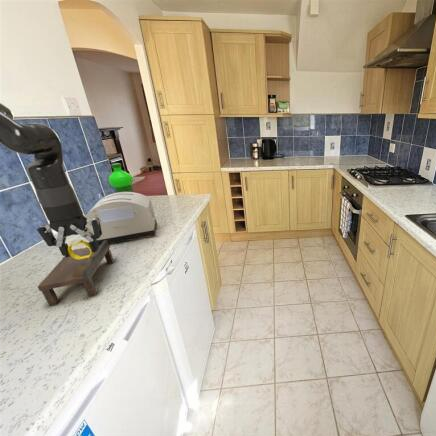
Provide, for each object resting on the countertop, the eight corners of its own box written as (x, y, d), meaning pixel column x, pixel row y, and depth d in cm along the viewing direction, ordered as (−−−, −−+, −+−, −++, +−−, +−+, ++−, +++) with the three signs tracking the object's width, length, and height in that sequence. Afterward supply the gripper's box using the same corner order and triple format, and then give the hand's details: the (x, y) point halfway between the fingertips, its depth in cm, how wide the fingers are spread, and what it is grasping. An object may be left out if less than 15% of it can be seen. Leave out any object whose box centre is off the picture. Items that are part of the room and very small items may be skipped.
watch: (97, 254, 76) (90, 237, 73) (93, 259, 73) (85, 241, 71) (75, 257, 74) (68, 240, 72) (70, 262, 72) (62, 244, 70)
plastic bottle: (141, 204, 141) (128, 161, 131) (139, 210, 132) (125, 164, 122) (121, 207, 137) (106, 163, 127) (117, 213, 128) (101, 166, 118)
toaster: (91, 249, 94) (73, 207, 87) (106, 225, 115) (93, 190, 108) (157, 236, 103) (146, 197, 96) (160, 216, 124) (151, 183, 117)
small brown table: (48, 306, 66) (34, 282, 63) (77, 267, 83) (68, 246, 80) (96, 295, 69) (85, 272, 66) (114, 260, 87) (107, 239, 83)
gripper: (95, 194, 72) (113, 243, 79) (33, 200, 67) (58, 252, 74) (86, 201, 66) (106, 254, 72) (17, 209, 61) (46, 265, 68)
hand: (82, 253), depth 73 cm, fingers closed on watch, 6 cm apart
